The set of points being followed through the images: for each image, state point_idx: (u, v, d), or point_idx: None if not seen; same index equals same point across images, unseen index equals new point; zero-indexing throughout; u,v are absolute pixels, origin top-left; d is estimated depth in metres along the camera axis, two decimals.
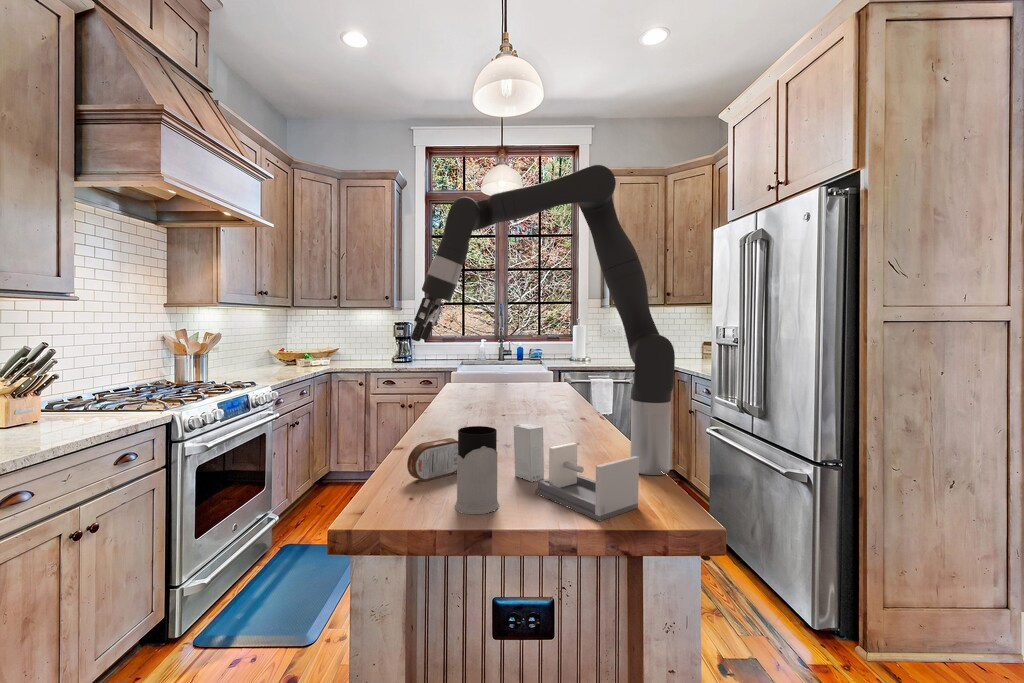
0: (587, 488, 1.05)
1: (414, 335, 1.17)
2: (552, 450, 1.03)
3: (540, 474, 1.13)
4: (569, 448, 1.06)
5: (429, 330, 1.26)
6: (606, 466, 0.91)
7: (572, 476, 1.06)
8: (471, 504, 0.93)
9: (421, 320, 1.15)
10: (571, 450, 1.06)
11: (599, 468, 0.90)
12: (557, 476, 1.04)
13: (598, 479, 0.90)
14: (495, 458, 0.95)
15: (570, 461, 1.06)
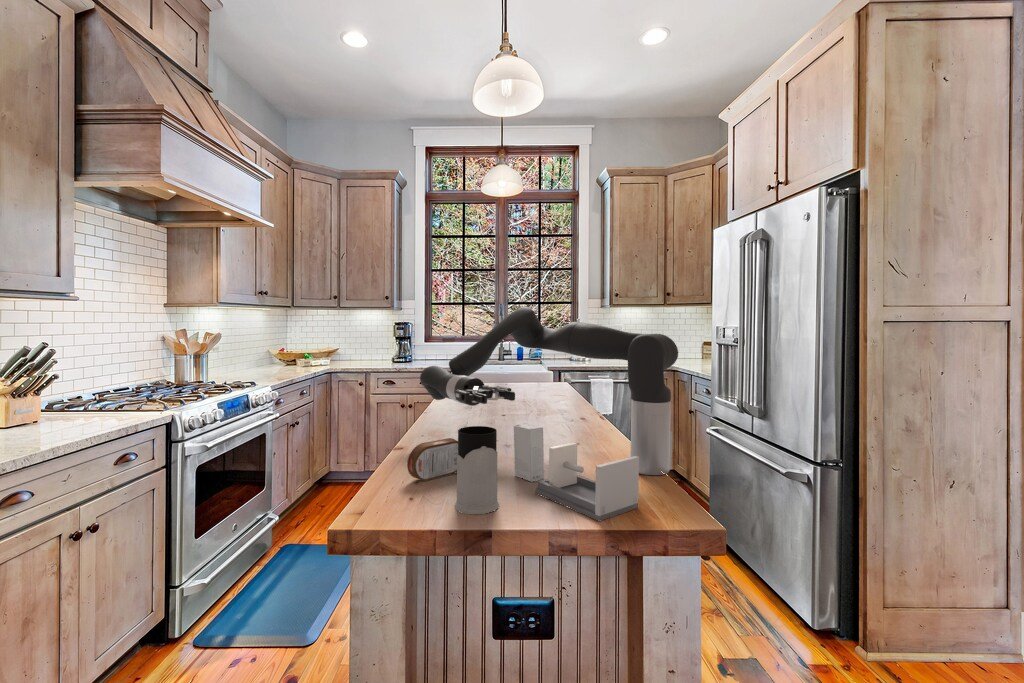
0: (587, 488, 1.05)
1: (480, 400, 1.21)
2: (552, 450, 1.03)
3: (540, 474, 1.13)
4: (569, 448, 1.06)
5: (506, 392, 1.27)
6: (606, 466, 0.91)
7: (572, 476, 1.06)
8: (471, 504, 0.93)
9: (464, 396, 1.23)
10: (571, 450, 1.06)
11: (599, 468, 0.90)
12: (557, 476, 1.04)
13: (598, 479, 0.90)
14: (495, 458, 0.95)
15: (570, 461, 1.06)
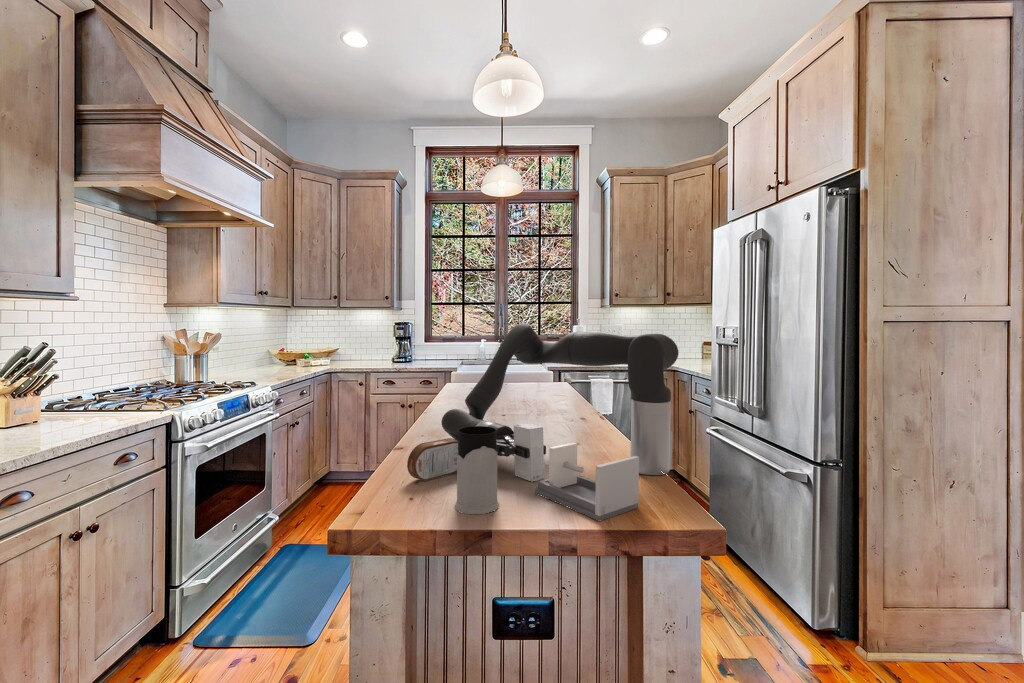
0: (587, 488, 1.05)
1: (521, 454, 1.11)
2: (552, 450, 1.03)
3: (540, 474, 1.13)
4: (569, 448, 1.06)
5: None
6: (606, 466, 0.91)
7: (572, 476, 1.06)
8: (471, 504, 0.93)
9: (504, 449, 1.13)
10: (571, 450, 1.06)
11: (599, 468, 0.90)
12: (557, 476, 1.04)
13: (598, 479, 0.90)
14: (495, 458, 0.95)
15: (570, 461, 1.06)
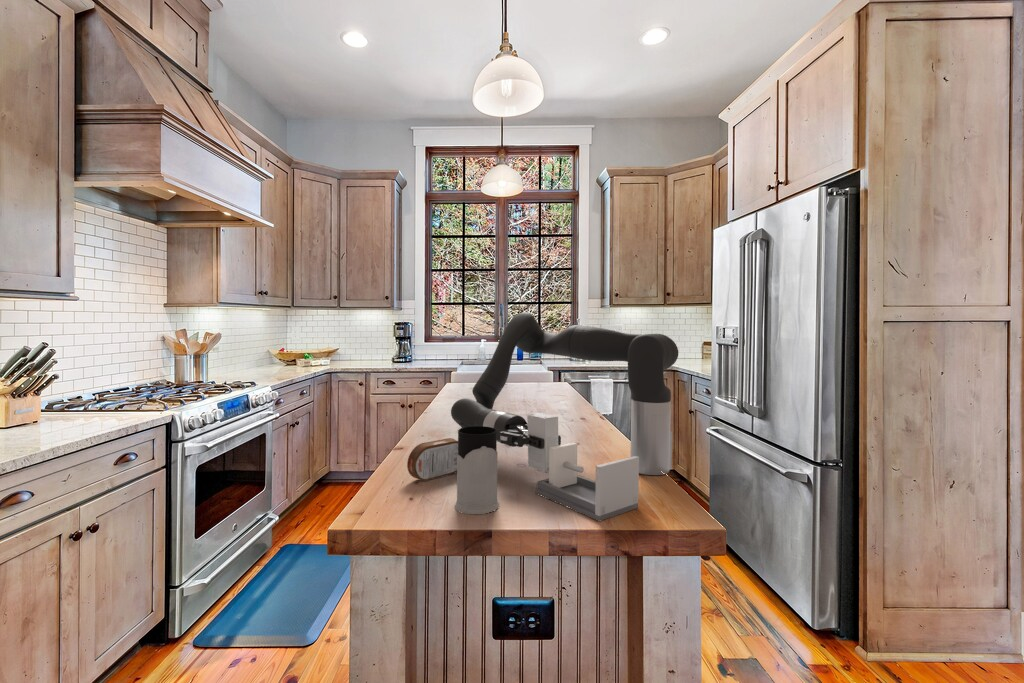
0: (587, 488, 1.05)
1: (536, 445, 1.07)
2: (552, 450, 1.03)
3: None
4: (569, 448, 1.06)
5: None
6: (606, 466, 0.91)
7: (572, 476, 1.06)
8: (471, 504, 0.93)
9: (518, 439, 1.09)
10: (571, 450, 1.06)
11: (599, 468, 0.90)
12: (557, 476, 1.04)
13: (598, 479, 0.90)
14: (495, 458, 0.95)
15: (570, 461, 1.06)
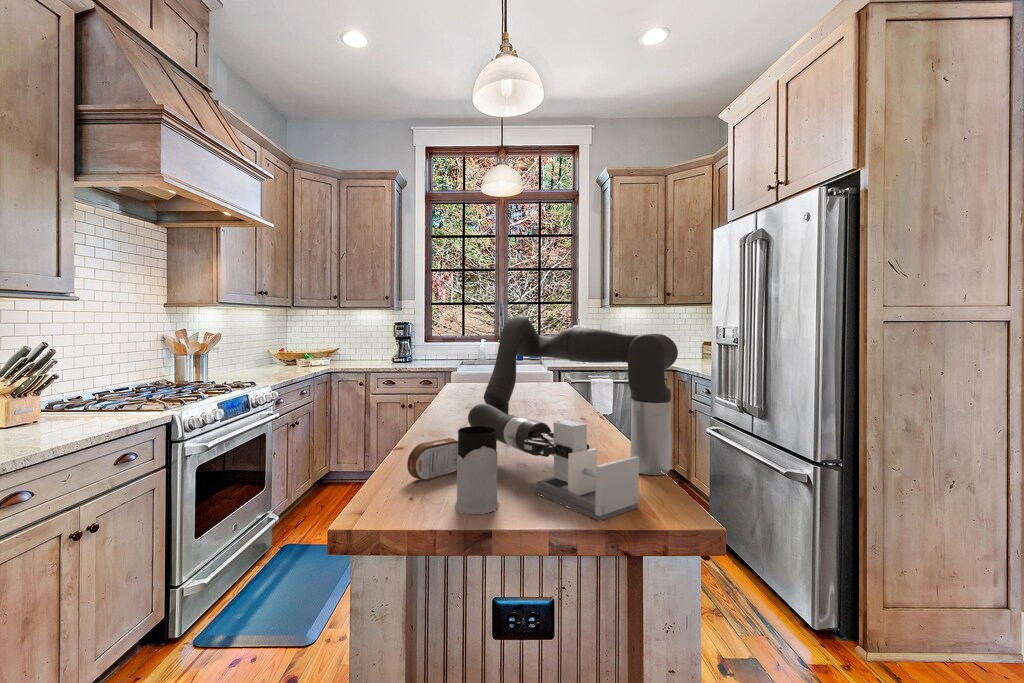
0: None
1: (563, 455, 1.00)
2: (571, 456, 0.98)
3: None
4: (589, 454, 1.01)
5: None
6: (606, 466, 0.91)
7: (592, 483, 1.02)
8: (471, 504, 0.93)
9: (543, 448, 1.02)
10: (591, 456, 1.01)
11: (599, 468, 0.90)
12: (576, 484, 0.99)
13: (598, 479, 0.90)
14: (495, 458, 0.95)
15: (590, 468, 1.01)
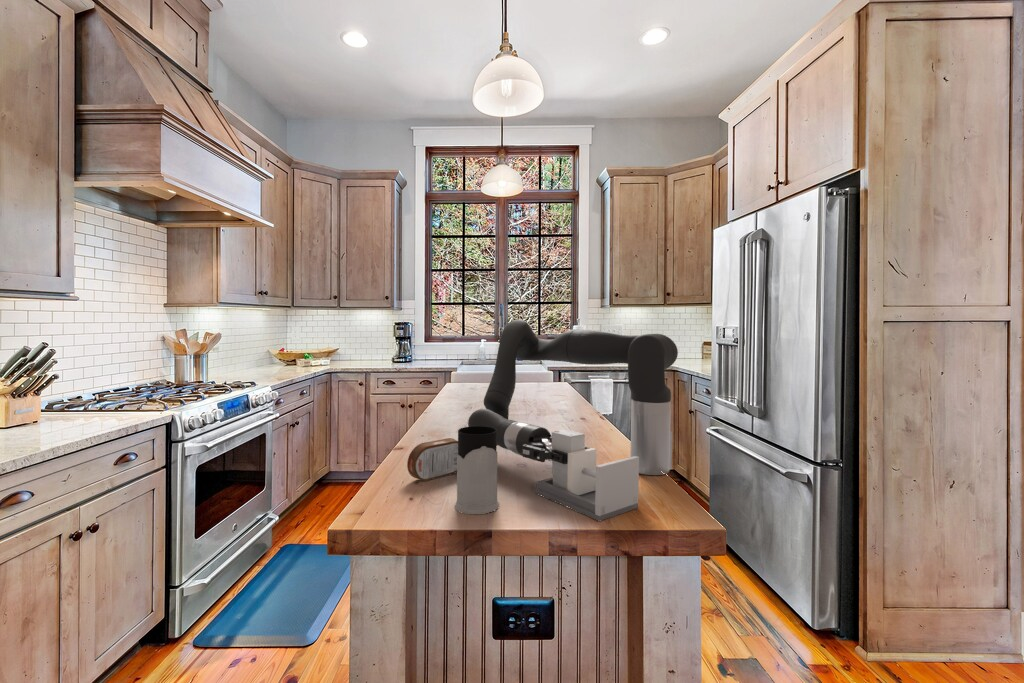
0: None
1: (559, 460, 1.00)
2: (571, 456, 0.98)
3: None
4: (589, 454, 1.01)
5: None
6: (606, 466, 0.91)
7: (591, 483, 1.02)
8: (471, 504, 0.93)
9: (539, 453, 1.02)
10: (590, 456, 1.01)
11: (599, 468, 0.90)
12: (576, 484, 0.99)
13: (598, 479, 0.90)
14: (495, 458, 0.95)
15: (589, 467, 1.01)
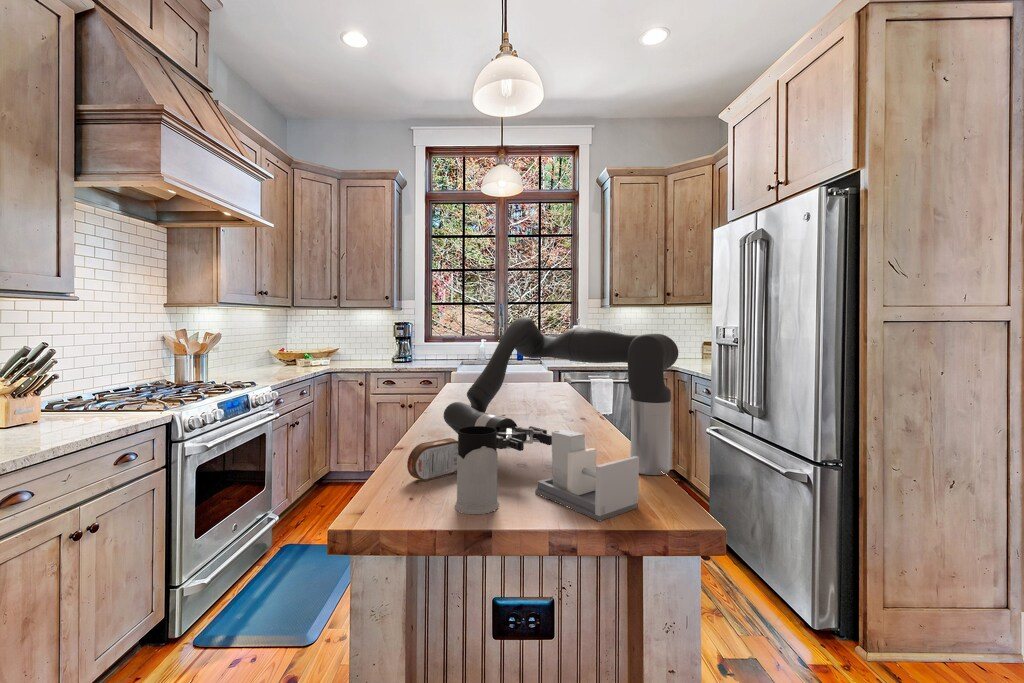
0: None
1: (515, 447, 1.10)
2: (571, 456, 0.98)
3: None
4: (589, 454, 1.01)
5: (542, 435, 1.17)
6: (606, 466, 0.91)
7: (591, 483, 1.02)
8: (471, 504, 0.93)
9: (498, 441, 1.12)
10: (590, 456, 1.01)
11: (599, 468, 0.90)
12: (576, 484, 0.99)
13: (598, 479, 0.90)
14: (495, 458, 0.95)
15: (589, 467, 1.01)
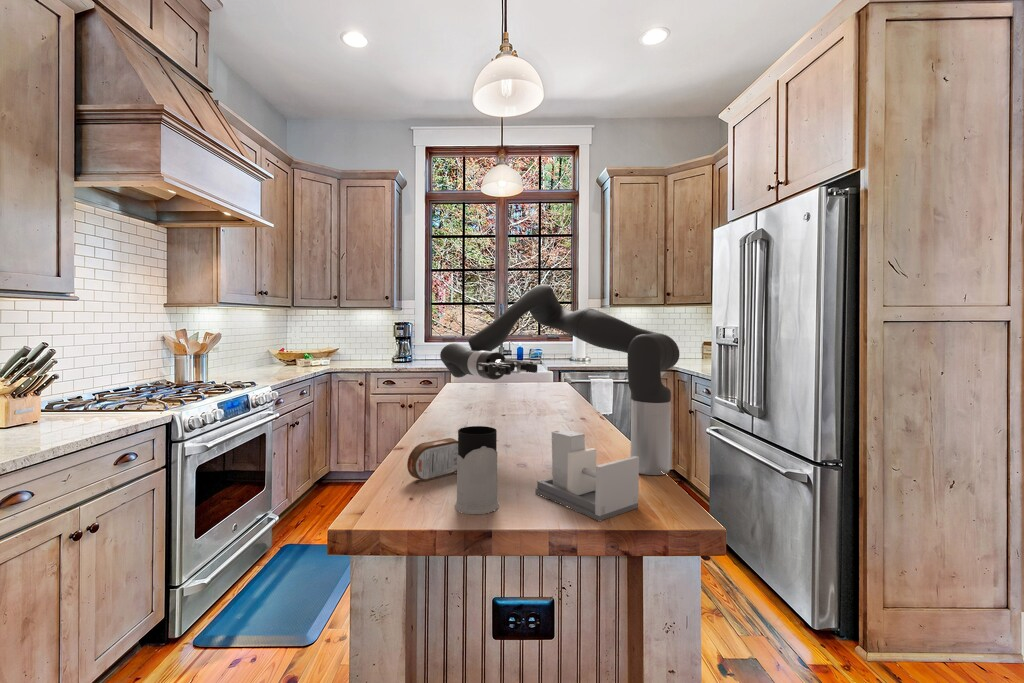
0: None
1: (503, 371, 1.22)
2: (571, 456, 0.98)
3: None
4: (588, 454, 1.01)
5: (528, 364, 1.29)
6: (606, 466, 0.91)
7: (591, 483, 1.02)
8: (471, 504, 0.93)
9: (488, 367, 1.24)
10: (590, 456, 1.01)
11: (599, 468, 0.90)
12: (576, 484, 0.99)
13: (598, 479, 0.90)
14: (495, 458, 0.95)
15: (589, 467, 1.01)
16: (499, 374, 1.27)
